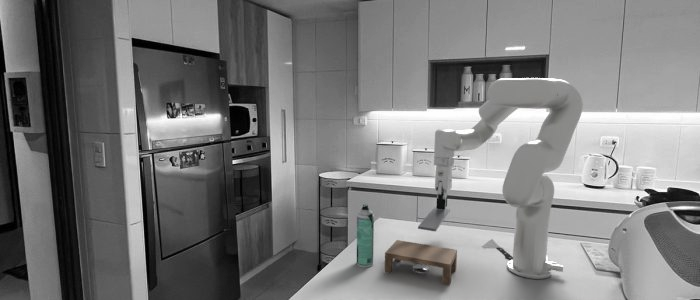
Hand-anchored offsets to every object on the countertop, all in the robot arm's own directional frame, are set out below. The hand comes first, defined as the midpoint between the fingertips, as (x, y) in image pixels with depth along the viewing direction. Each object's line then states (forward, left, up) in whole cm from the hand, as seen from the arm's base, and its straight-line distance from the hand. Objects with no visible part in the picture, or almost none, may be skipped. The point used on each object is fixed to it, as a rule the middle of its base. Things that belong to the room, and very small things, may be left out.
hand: (441, 207), depth 146 cm
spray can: (+18, +35, -13) cm, 41 cm away
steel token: (0, +32, -13) cm, 35 cm away
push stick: (0, +11, -2) cm, 11 cm away
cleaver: (-17, -1, -13) cm, 22 cm away
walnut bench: (0, +32, -12) cm, 35 cm away
